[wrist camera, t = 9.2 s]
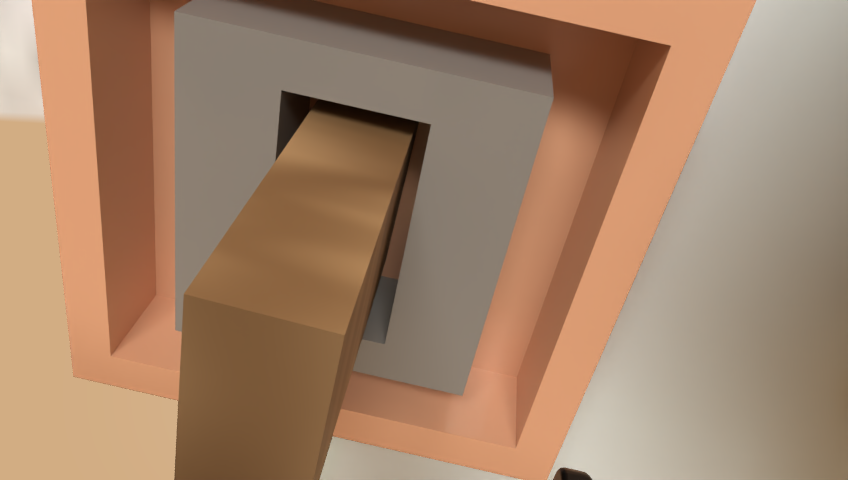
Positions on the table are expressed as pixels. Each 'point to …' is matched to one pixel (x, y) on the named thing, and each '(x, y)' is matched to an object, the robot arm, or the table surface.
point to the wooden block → (289, 301)
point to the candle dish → (421, 197)
